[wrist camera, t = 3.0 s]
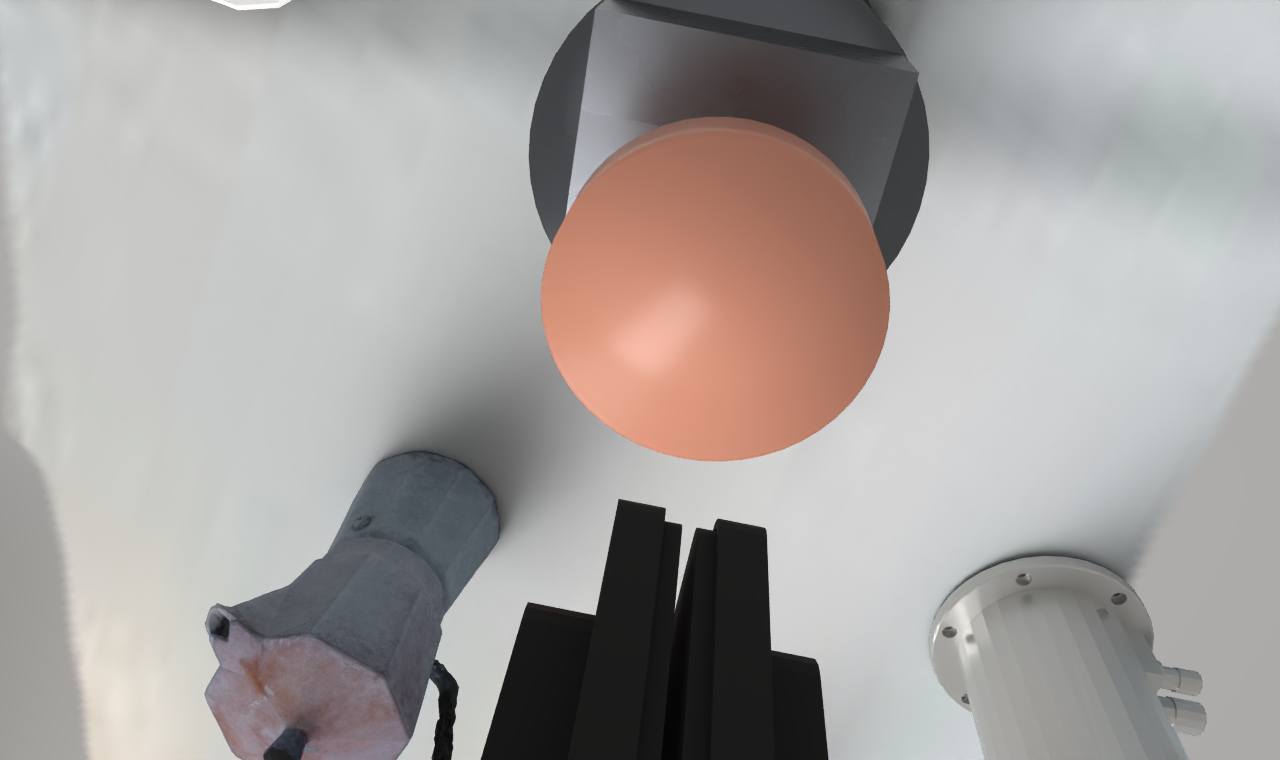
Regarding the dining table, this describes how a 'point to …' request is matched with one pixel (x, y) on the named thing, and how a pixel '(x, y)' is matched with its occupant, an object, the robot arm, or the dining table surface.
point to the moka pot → (357, 624)
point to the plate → (253, 4)
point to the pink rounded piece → (716, 290)
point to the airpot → (736, 94)
